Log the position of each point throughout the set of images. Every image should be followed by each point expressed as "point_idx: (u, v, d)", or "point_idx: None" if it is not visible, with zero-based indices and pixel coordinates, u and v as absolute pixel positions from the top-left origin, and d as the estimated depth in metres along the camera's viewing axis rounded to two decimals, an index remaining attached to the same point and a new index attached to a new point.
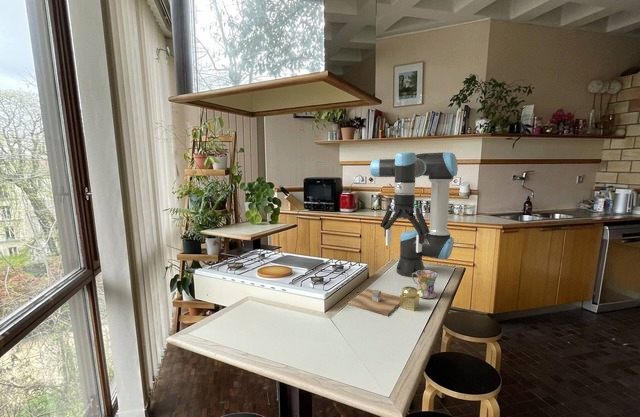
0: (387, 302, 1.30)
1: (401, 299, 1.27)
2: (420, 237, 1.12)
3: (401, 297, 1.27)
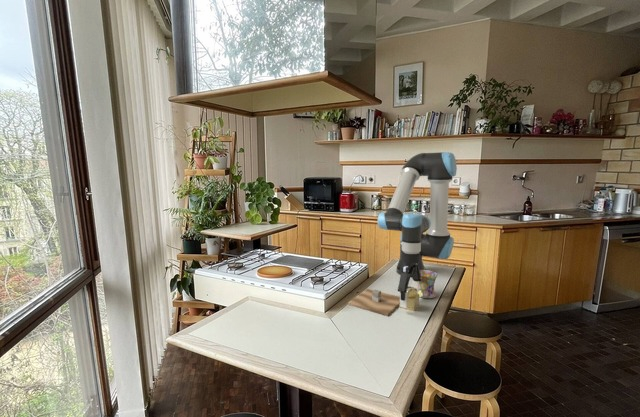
0: (387, 302, 1.30)
1: None
2: None
3: None
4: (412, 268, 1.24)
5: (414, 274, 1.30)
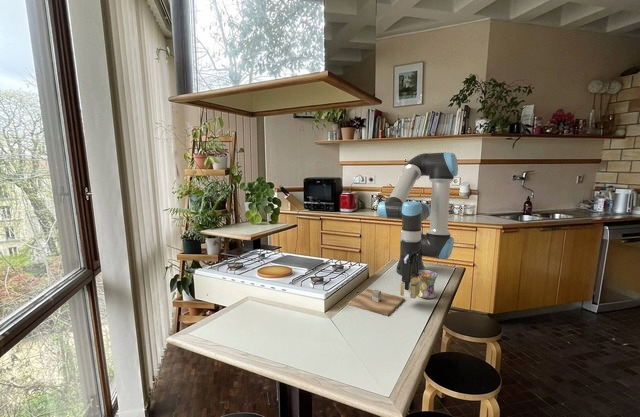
0: (387, 302, 1.30)
1: (402, 287, 1.27)
2: None
3: (402, 285, 1.27)
4: (412, 257, 1.23)
5: (413, 265, 1.28)
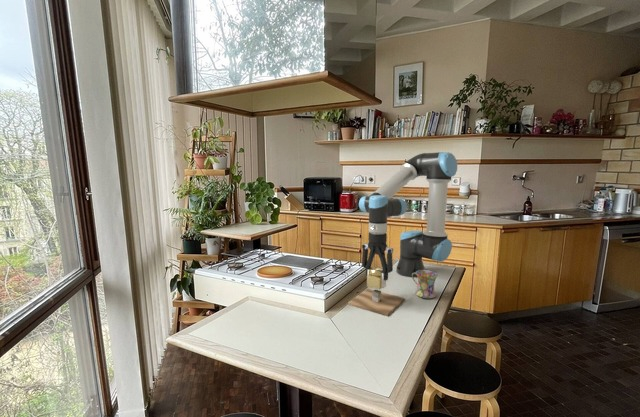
0: (387, 302, 1.30)
1: (380, 280, 1.27)
2: (385, 275, 1.28)
3: (380, 278, 1.27)
4: None
5: (372, 258, 1.32)
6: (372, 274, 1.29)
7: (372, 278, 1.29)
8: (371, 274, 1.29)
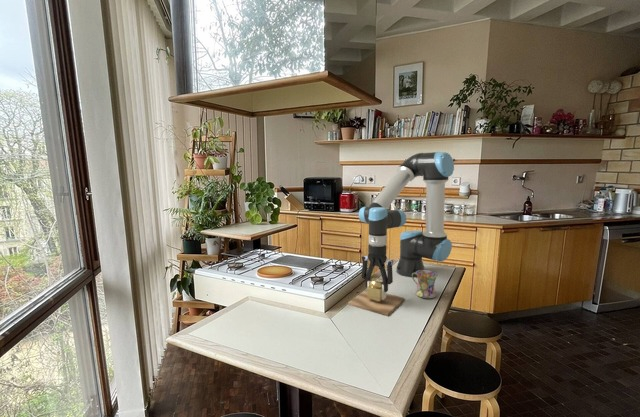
0: (387, 302, 1.30)
1: (380, 292, 1.28)
2: (385, 286, 1.29)
3: (380, 290, 1.28)
4: None
5: (372, 269, 1.32)
6: (372, 286, 1.29)
7: (372, 290, 1.30)
8: (371, 286, 1.30)
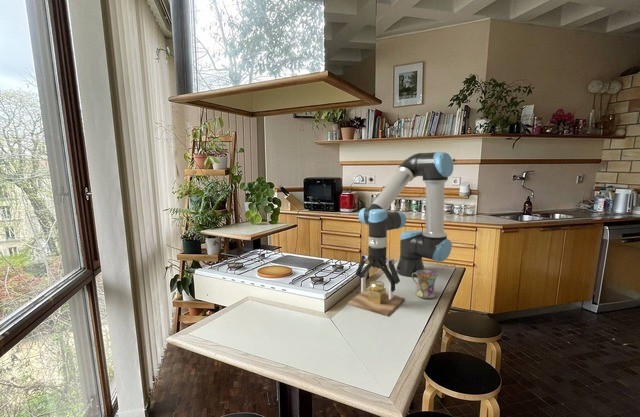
0: (387, 302, 1.30)
1: (380, 295, 1.29)
2: (392, 286, 1.27)
3: (380, 293, 1.28)
4: None
5: None
6: (372, 289, 1.30)
7: (372, 293, 1.30)
8: (371, 289, 1.30)
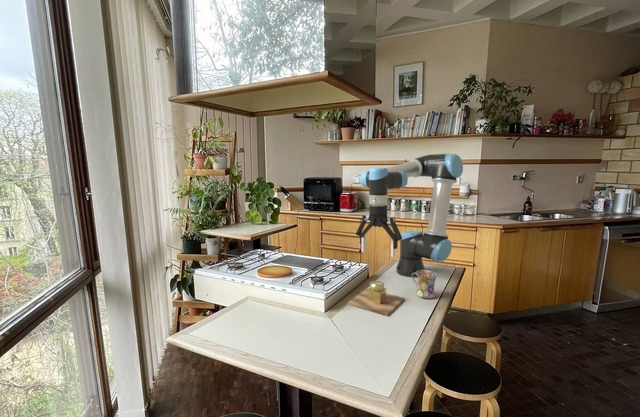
0: (387, 302, 1.30)
1: (380, 295, 1.29)
2: (394, 243, 1.26)
3: (380, 293, 1.28)
4: None
5: (369, 228, 1.33)
6: (372, 289, 1.30)
7: (372, 293, 1.30)
8: (371, 289, 1.30)
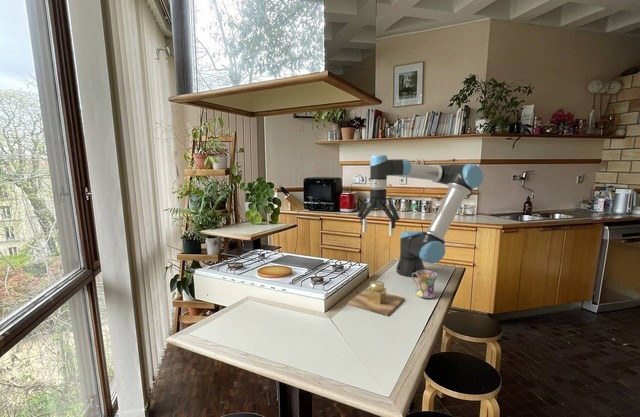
0: (387, 302, 1.30)
1: (380, 295, 1.29)
2: (392, 223, 1.40)
3: (380, 293, 1.28)
4: None
5: (370, 210, 1.47)
6: (372, 289, 1.30)
7: (372, 293, 1.30)
8: (371, 289, 1.30)
